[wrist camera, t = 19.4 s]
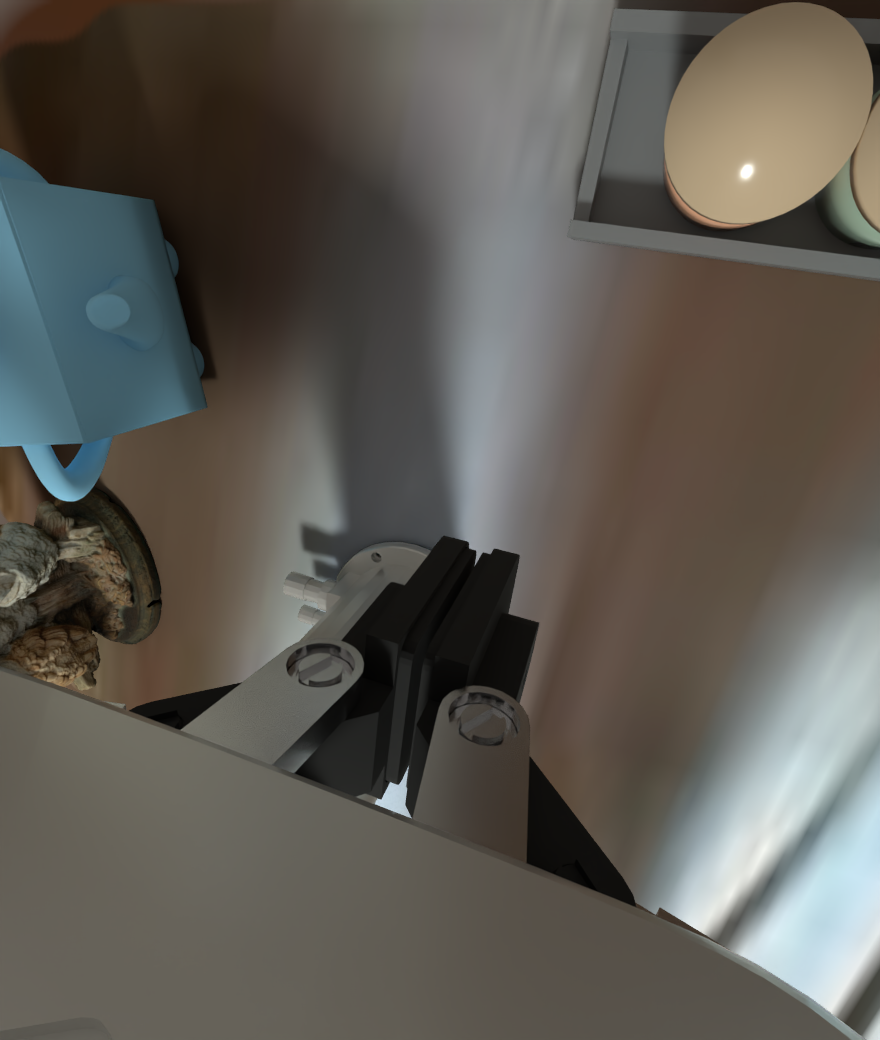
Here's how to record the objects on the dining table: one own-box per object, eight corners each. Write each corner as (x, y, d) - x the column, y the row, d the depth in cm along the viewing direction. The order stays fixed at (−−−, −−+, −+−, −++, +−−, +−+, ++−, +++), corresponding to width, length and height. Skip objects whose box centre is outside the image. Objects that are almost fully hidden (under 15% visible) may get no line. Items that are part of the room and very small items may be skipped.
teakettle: (185, 475, 49) (21, 547, 36) (18, 329, 48) (-208, 349, 36) (284, 288, 39) (110, 294, 27) (78, 106, 39) (-198, 24, 26)
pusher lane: (573, 239, 33) (563, 234, 29) (617, 32, 29) (612, -6, 25) (1025, 301, 27) (1088, 305, 24) (1156, 60, 23) (1259, 16, 19)
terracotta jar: (645, 227, 31) (645, 215, 25) (681, 62, 28) (691, 3, 22) (791, 239, 29) (829, 230, 23) (846, 65, 26) (908, 1, 20)
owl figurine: (185, 650, 58) (24, 782, 43) (100, 640, 62) (-74, 757, 47) (129, 482, 51) (-84, 569, 36) (38, 483, 55) (-187, 561, 40)
